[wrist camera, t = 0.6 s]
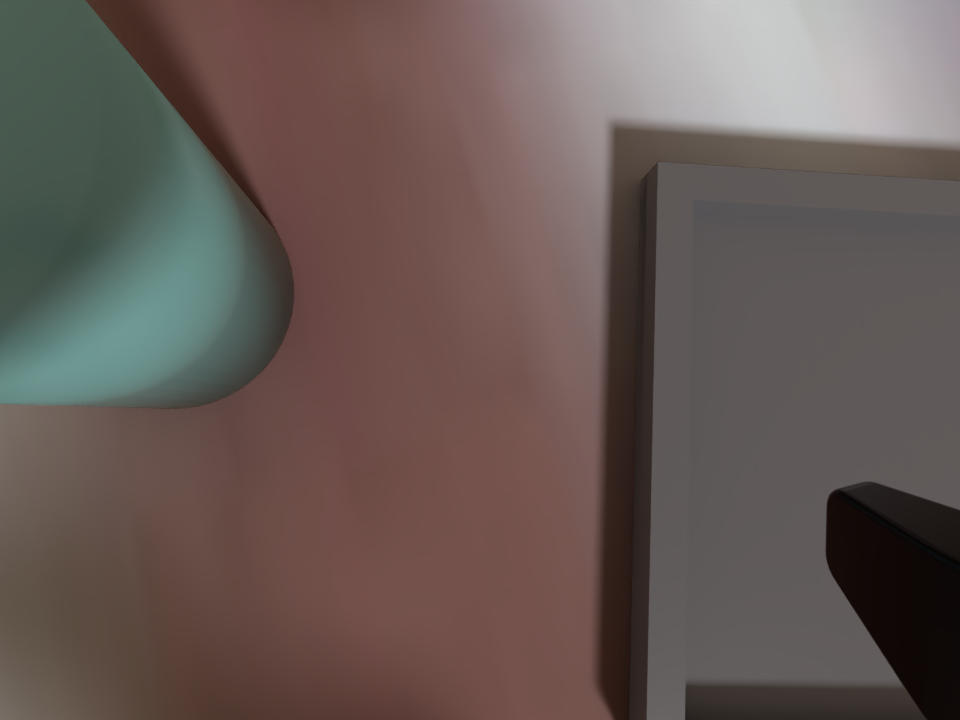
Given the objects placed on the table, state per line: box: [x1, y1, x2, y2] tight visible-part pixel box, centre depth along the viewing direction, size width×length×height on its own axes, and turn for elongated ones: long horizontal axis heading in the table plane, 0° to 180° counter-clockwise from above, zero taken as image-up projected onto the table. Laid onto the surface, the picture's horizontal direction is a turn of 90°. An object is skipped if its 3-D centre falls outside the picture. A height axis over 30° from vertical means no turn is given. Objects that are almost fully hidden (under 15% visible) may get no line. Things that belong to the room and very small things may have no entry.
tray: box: [629, 162, 960, 720], centre depth 20 cm, size 16×16×2 cm
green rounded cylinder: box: [0, 0, 294, 409], centre depth 14 cm, size 6×6×12 cm
